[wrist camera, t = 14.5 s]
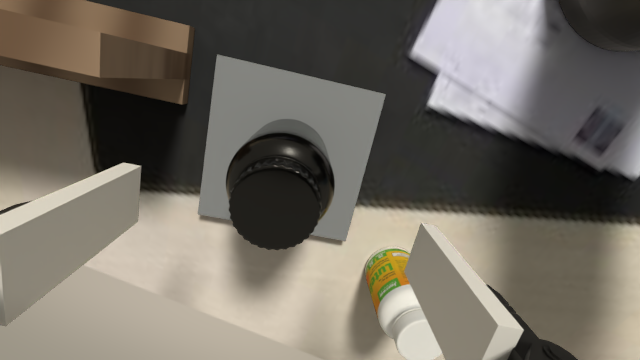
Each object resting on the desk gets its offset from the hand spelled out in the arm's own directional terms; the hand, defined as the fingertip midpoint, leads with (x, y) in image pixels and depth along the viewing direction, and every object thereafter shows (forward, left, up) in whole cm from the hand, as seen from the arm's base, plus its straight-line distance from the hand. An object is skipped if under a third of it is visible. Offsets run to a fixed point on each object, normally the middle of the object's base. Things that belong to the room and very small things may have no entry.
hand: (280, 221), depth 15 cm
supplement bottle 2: (-15, +5, -15) cm, 22 cm away
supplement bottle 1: (0, 0, -14) cm, 14 cm away
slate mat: (0, 0, -15) cm, 15 cm away
